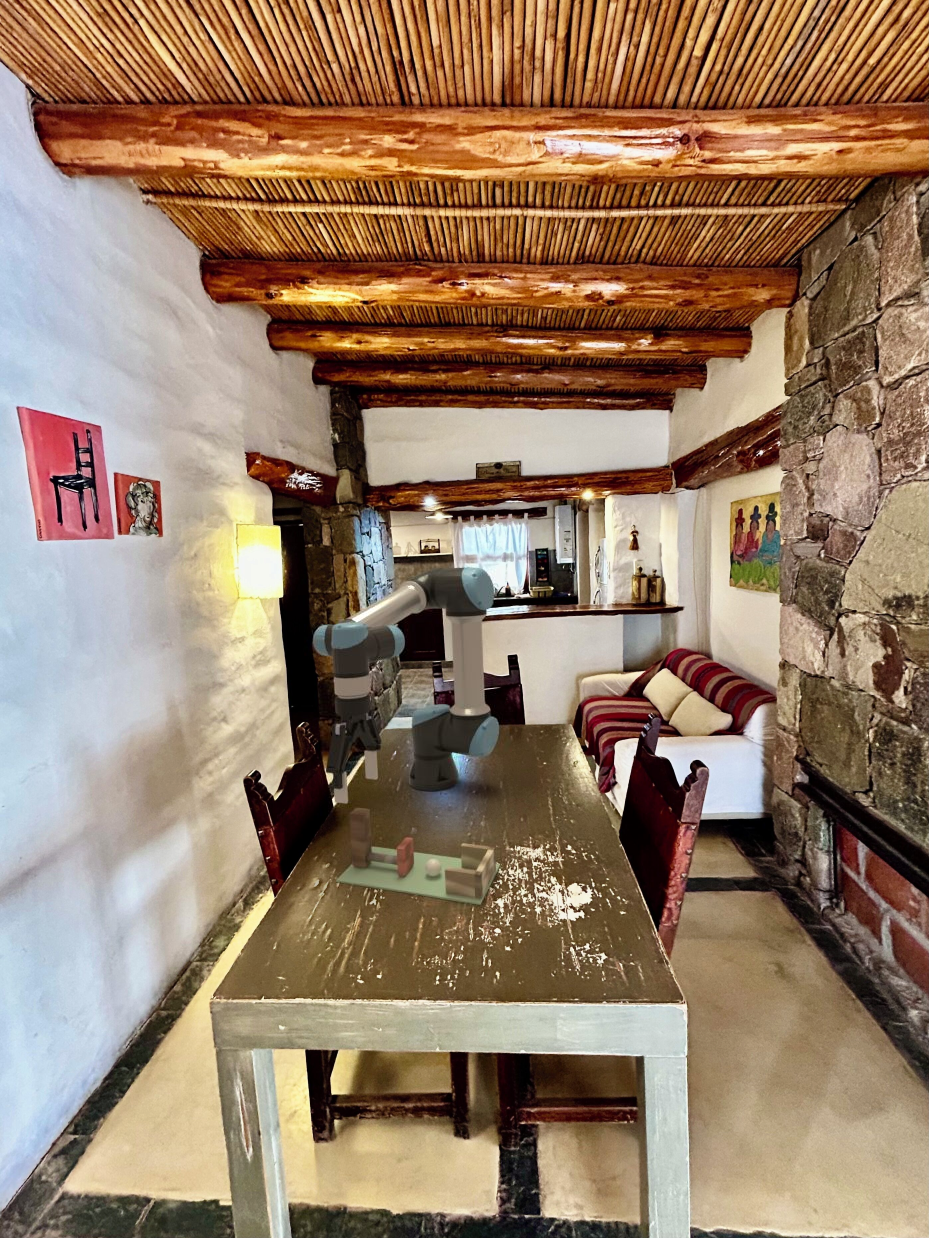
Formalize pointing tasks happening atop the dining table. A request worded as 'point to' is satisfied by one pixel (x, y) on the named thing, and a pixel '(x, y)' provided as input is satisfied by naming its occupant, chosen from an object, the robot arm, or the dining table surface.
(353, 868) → the mat
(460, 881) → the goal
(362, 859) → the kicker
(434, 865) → the ball
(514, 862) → the dining table surface
